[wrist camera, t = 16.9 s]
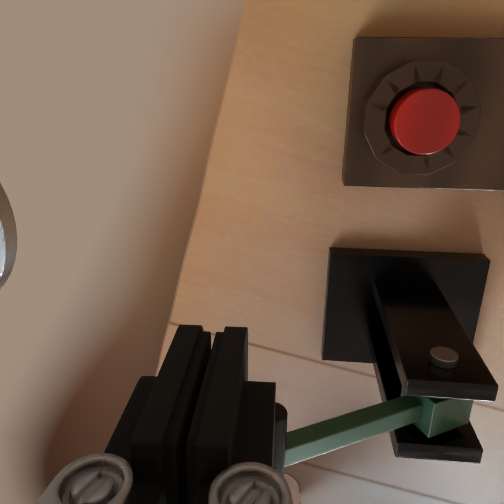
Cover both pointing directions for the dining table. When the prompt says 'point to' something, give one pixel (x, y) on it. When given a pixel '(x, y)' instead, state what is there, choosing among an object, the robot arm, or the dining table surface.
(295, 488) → the smoothie
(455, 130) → the button
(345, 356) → the bracket
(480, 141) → the button block
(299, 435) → the lever
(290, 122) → the dining table surface
